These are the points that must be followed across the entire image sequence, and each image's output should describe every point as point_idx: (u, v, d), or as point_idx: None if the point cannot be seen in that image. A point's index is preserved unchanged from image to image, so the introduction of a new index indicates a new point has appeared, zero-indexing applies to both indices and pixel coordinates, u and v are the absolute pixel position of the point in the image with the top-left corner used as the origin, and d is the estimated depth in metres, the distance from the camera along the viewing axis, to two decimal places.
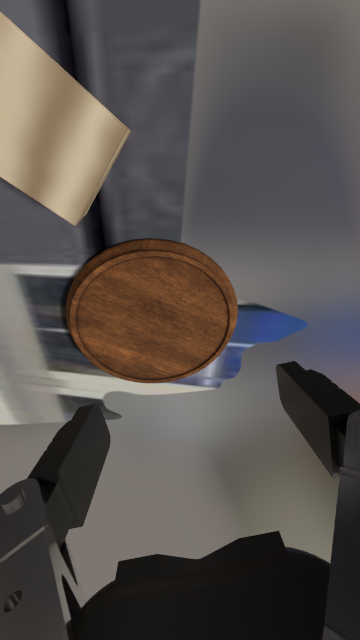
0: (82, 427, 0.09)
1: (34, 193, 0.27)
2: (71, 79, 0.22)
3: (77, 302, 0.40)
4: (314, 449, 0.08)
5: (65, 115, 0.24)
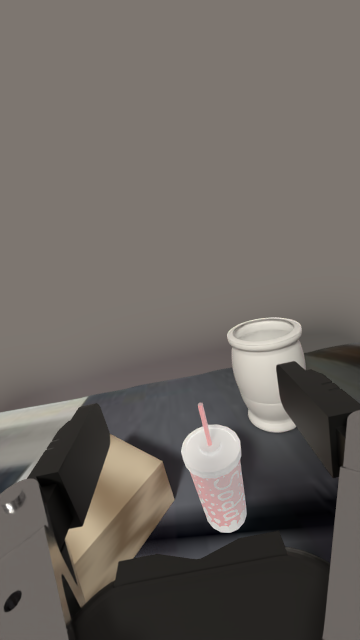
0: (82, 427, 0.09)
1: None
2: (119, 509, 0.24)
3: None
4: (313, 449, 0.08)
5: (98, 501, 0.25)
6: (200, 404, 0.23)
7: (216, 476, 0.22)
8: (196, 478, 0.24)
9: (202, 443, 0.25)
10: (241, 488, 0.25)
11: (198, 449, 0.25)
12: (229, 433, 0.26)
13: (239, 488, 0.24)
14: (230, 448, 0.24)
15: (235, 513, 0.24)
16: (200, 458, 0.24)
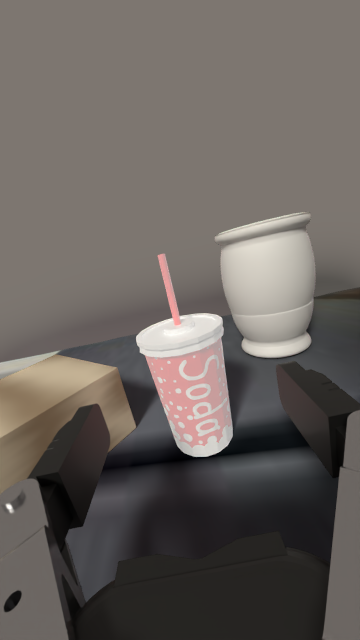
0: (82, 427, 0.09)
1: None
2: (39, 413, 0.16)
3: None
4: (313, 449, 0.08)
5: (15, 409, 0.17)
6: (161, 254, 0.15)
7: (181, 352, 0.14)
8: (154, 366, 0.16)
9: (166, 325, 0.17)
10: (224, 391, 0.17)
11: (161, 333, 0.17)
12: (208, 317, 0.18)
13: (221, 388, 0.16)
14: (207, 326, 0.16)
15: (214, 425, 0.16)
16: (161, 338, 0.16)
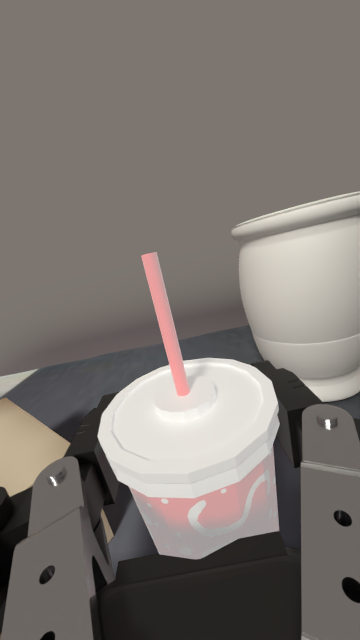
0: None
1: None
2: None
3: None
4: (280, 442, 0.09)
5: None
6: None
7: (195, 491, 0.06)
8: (135, 494, 0.07)
9: (162, 392, 0.09)
10: (276, 524, 0.09)
11: (150, 409, 0.09)
12: (239, 370, 0.10)
13: (272, 526, 0.08)
14: (245, 401, 0.08)
15: None
16: (149, 430, 0.08)
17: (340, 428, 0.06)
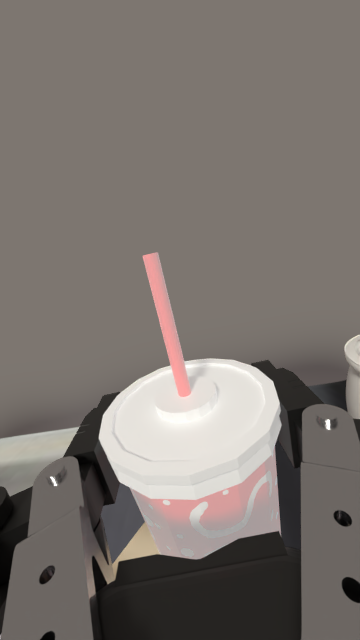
0: None
1: None
2: None
3: None
4: (280, 442, 0.09)
5: None
6: None
7: (197, 492, 0.06)
8: (136, 495, 0.07)
9: (163, 393, 0.09)
10: (278, 525, 0.08)
11: (151, 409, 0.09)
12: (240, 371, 0.10)
13: (274, 527, 0.08)
14: (247, 402, 0.08)
15: None
16: (150, 431, 0.07)
17: (340, 428, 0.06)
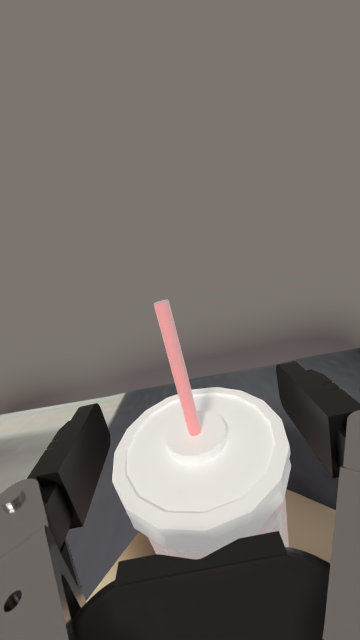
0: (82, 427, 0.09)
1: (140, 543, 0.14)
2: None
3: None
4: (313, 449, 0.08)
5: None
6: (160, 302, 0.07)
7: (213, 545, 0.06)
8: (150, 538, 0.07)
9: (173, 430, 0.09)
10: None
11: (162, 448, 0.09)
12: (248, 404, 0.10)
13: None
14: (257, 443, 0.08)
15: None
16: (163, 474, 0.08)
17: None
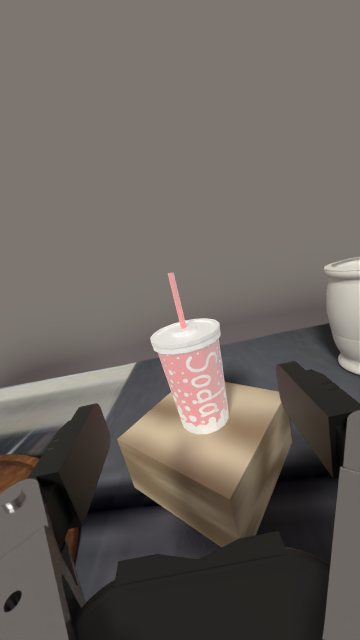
0: (82, 427, 0.09)
1: (156, 409, 0.26)
2: (261, 435, 0.20)
3: (28, 463, 0.29)
4: (313, 449, 0.08)
5: (227, 431, 0.21)
6: None
7: (188, 350, 0.18)
8: (166, 361, 0.20)
9: (174, 328, 0.21)
10: (221, 381, 0.21)
11: (170, 335, 0.21)
12: (208, 321, 0.22)
13: (219, 378, 0.20)
14: (208, 329, 0.20)
15: (213, 408, 0.21)
16: (171, 339, 0.20)
17: None
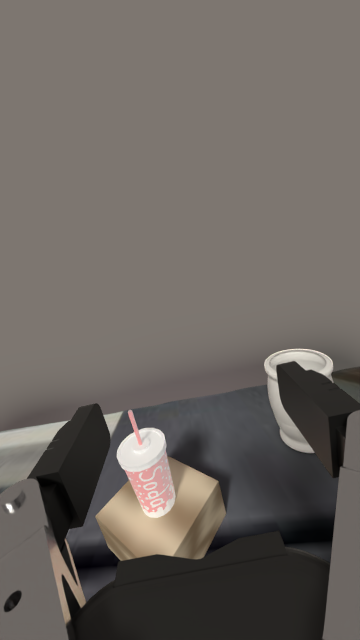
0: (82, 427, 0.09)
1: (126, 486, 0.35)
2: (191, 523, 0.29)
3: None
4: (313, 449, 0.08)
5: (170, 516, 0.30)
6: (129, 411, 0.29)
7: (139, 470, 0.27)
8: (126, 472, 0.29)
9: (134, 443, 0.30)
10: (167, 481, 0.30)
11: (131, 448, 0.30)
12: (159, 435, 0.31)
13: (164, 480, 0.30)
14: (156, 447, 0.29)
15: (160, 501, 0.30)
16: (130, 455, 0.29)
17: None
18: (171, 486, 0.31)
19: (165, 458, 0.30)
